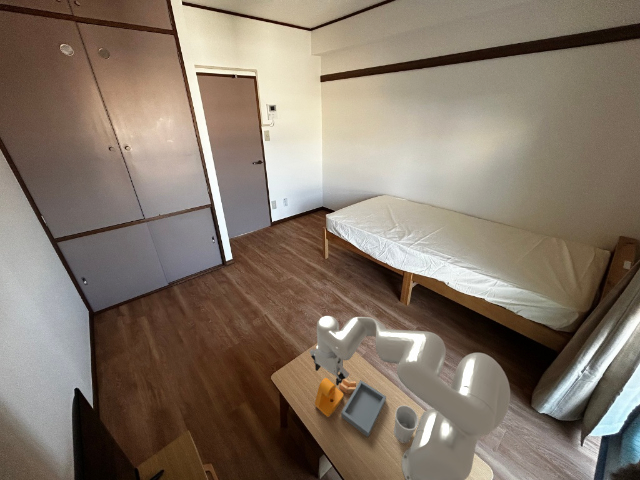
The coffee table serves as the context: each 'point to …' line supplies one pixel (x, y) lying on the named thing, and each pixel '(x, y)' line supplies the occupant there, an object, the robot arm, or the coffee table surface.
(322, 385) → the bracket
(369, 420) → the gray tray
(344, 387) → the clip
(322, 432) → the coffee table surface
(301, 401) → the coffee table surface
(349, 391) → the clip
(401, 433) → the cup
